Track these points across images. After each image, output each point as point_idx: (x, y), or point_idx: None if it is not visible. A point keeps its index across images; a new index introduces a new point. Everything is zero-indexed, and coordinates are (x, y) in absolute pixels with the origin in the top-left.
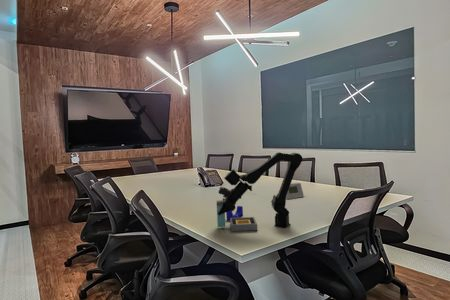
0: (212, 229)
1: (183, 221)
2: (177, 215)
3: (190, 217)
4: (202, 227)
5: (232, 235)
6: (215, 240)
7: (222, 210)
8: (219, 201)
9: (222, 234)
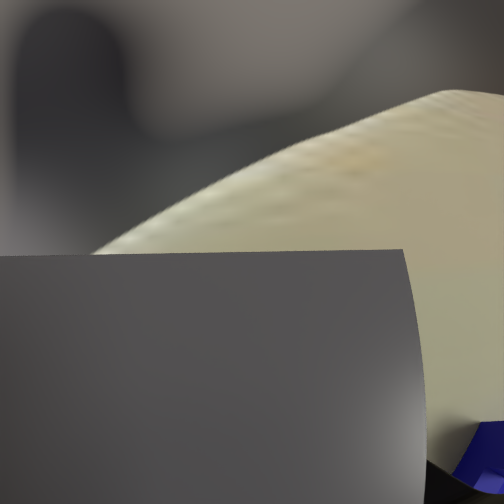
0: None
1: (418, 132)
2: (489, 122)
3: (489, 167)
4: (296, 240)
5: None
6: None
7: None
8: (116, 443)
9: None
